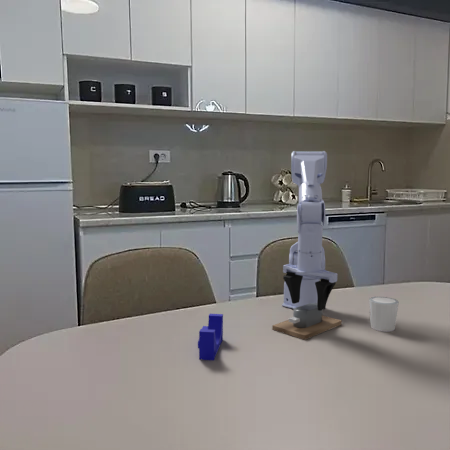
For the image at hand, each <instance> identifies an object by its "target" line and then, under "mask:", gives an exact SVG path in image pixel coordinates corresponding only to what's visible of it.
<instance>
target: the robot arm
mask: <svg viewBox="0 0 450 450" xmlns="http://www.w3.org/2000/svg"><path fill="white" fill-rule="evenodd" d="M290 159H291V160H290V161H291V162H290V165H291V166H290V170H291V171H290V172H291V180H292V181H291V182H292V183H293V184H295V185H297V187H298V203H297V204H296V205H297V206H296V224H297V233H298V234H297V241H296V242H295V243H294V244H292V245H291V246H290V248H289V255H288V263H287V264H284V265H282V272H283V273H284V274H285V275H283V278H282V279H283V280H284V283H283V303H282V304H281V306H282V307H286V308H289V309H293V310H294V308H297V307H300V306H303V305H306V304H309V303H317V307H318V310H319V311H321V310H325V309H326V306H327V302H328V299H329V297H330V294H331V292H332V291H333V289H334V287H335V286H336V283H337V282H338V273H336V272H333V271H330V270H326V256H325V255H326V253H325V249H324V246H323V229H324V228H323V226H325V222H326V204H325V201H324V199H323V190H322V186H321V184H323V183H324V182H325V179H326V174H327V168H328V152H326V151H325V150H322V151H298V150H297V151H296V150H293V151H292V152H291V158H290Z"/></svg>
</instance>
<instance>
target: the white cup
mask: <svg viewBox="0 0 450 450" xmlns="http://www.w3.org/2000/svg"><path fill="white" fill-rule="evenodd" d="M368 302H369V317H370V318H369V319H370V328H371V329H372V330H374V331H378V332H385V333H386V332H390V333H391V332H393V331H395V328H396V324H397V323H396V322H397V317H398V310H399V300H398V299H396V298H392V297H388V296H373V297H369V300H368Z"/></svg>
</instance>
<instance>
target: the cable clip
mask: <svg viewBox="0 0 450 450" xmlns="http://www.w3.org/2000/svg"><path fill="white" fill-rule="evenodd" d="M207 325H208V326H207ZM207 325H203V326H202V327H201V328H200V329H199V331H198V332H199V333H198V334H199V335H198V338H199V339H198V340H197V348H198V358H199V359H198V360H201V359H202V361H203V360H204V361H215V358H216V356H217V353H218V352H219V349H220V346H221V344H222V342H223V339H224V338H223V337H224V336H223V335H224V334H223V333H224V326H223V325H224V314H223V313H209V314H208V323H207Z"/></svg>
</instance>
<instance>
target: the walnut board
mask: <svg viewBox="0 0 450 450" xmlns="http://www.w3.org/2000/svg"><path fill="white" fill-rule="evenodd" d="M342 323H343V321H342V320H341V319H338V318H334V317H331V316H326V315H323V314H322V322H320V323H317V324H315V325H312V326H309V327H307V328H296V327H294V326H293V323H291V322H289V319H287V320H284V321H282V322H278V323H275V324H273V325H272V327H271V329H272V330H273V331H277V332H279V333H282V334H285V335H289V336H292V337H294V338H298V339H301V340H305V341H306V340H307V339H309V338H313V337H315V336H317V335H320V334H322V333H324V332H326V331H330V330H331V329H334V328H337V327H339V326H341V325H342Z"/></svg>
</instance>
